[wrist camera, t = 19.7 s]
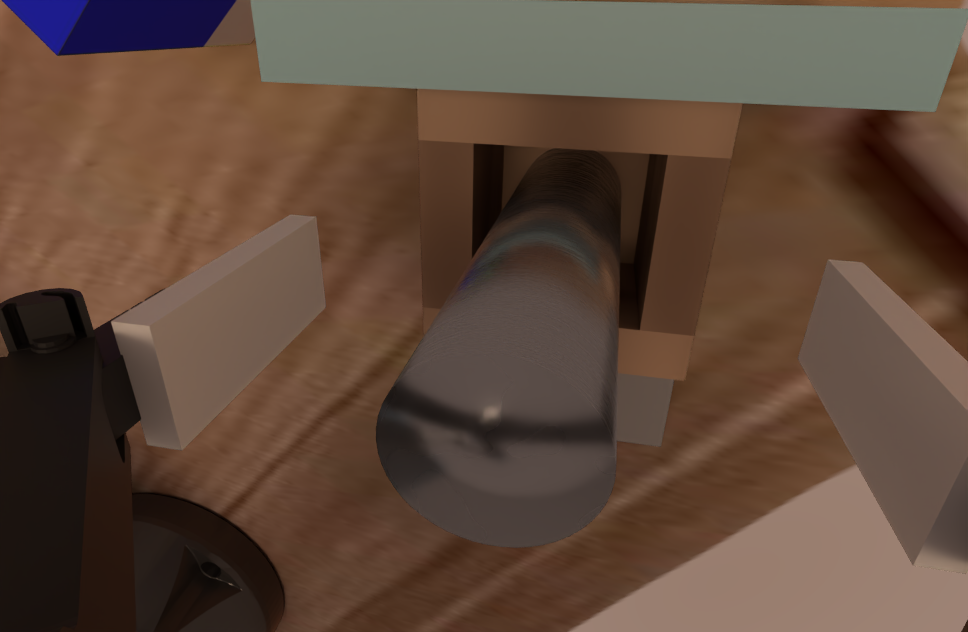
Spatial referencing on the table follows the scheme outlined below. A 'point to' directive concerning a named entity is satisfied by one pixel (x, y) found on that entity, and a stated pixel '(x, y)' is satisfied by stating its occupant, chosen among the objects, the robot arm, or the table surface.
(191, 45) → the puzzle toy
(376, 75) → the backstop
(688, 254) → the brown wooden box
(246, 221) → the table surface
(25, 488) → the robot arm
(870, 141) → the table surface
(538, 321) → the dowel
